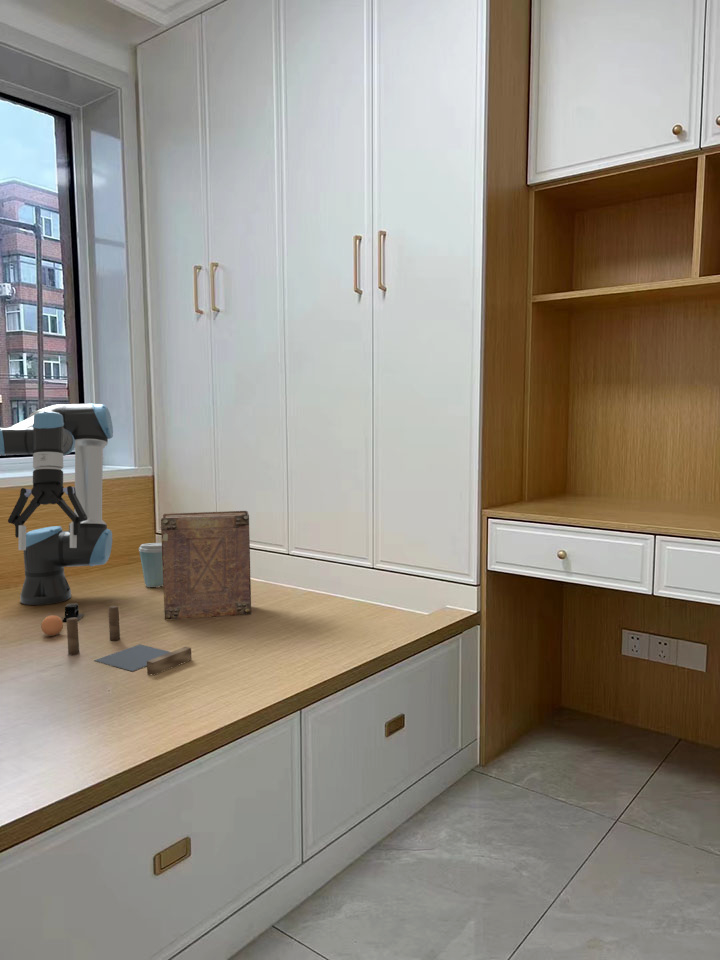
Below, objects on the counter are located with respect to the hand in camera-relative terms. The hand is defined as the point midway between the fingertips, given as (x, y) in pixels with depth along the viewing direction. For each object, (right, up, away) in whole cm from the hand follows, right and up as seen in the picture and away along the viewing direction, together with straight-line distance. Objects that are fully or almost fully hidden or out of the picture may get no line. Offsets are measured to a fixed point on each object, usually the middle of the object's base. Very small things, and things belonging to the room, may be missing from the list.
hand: (47, 549), depth 193 cm
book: (+37, -22, +26) cm, 50 cm away
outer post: (+11, -26, -9) cm, 29 cm away
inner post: (+17, -24, +1) cm, 30 cm away
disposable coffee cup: (+12, -19, +60) cm, 64 cm away
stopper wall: (+37, -26, -19) cm, 50 cm away
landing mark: (+27, -26, -13) cm, 40 cm away
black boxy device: (-2, -23, +22) cm, 32 cm away
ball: (-1, -21, +6) cm, 22 cm away
